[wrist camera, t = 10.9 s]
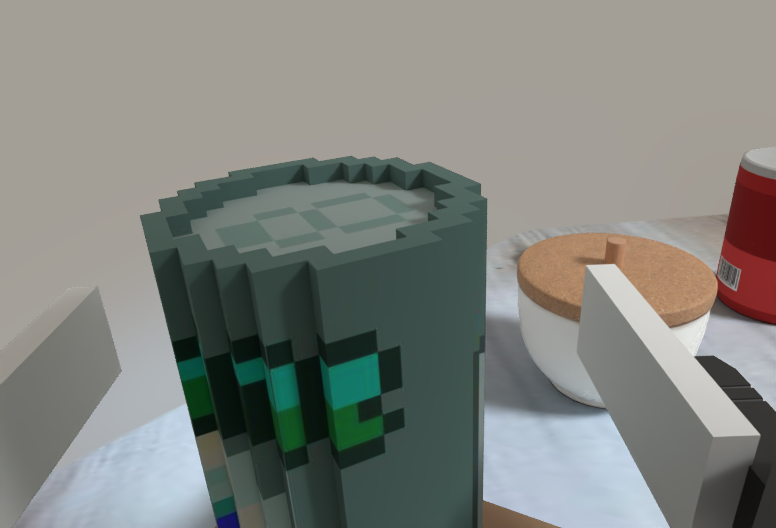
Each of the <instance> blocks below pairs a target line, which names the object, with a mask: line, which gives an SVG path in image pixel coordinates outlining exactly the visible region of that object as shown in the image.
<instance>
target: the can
mask: <svg viewBox="0 0 776 528" xmlns="http://www.w3.org/2000/svg"><path fill="white" fill-rule="evenodd" d="M228 173H229V177H225V178H219V179H214V180H207V181H202V182H195V183H194V184H195V188H191V189H185V190H179V191H177V193H178V196H176V197H171V198H165V199H159V204H160V208H161V212H156V213H151V214H145V215H140V218H141V222H142V226H143V230H144V234H145V238H146V242H147V246H148V250H149V254H150V258H151V262H152V266H153V270H154V274H155V278H156V282H157V286H158V290H159V294H160V298H161V302H162V306H163V310H164V314H165V318H166V323H167V327H168V331H169V335H170V339H171V342H172V346H173V351H174V354H175V359H176V363H177V367H178V371H179V375H180V379H181V383H182V387H183V391H184V395H185V399H186V403H187V407H188V411H189V415H190V419H191V423H192V427H193V431H194V435H195V439H196V443H197V447H198V451H199V455H200V459H201V463H202V467H203V471H204V475H205V479H206V483H207V487H208V491H209V496H210V500H211V504H212V508H213V512H214V516H215V520H216V524H217V528H482V521H483V453H484V385H485V317H486V249H487V246H486V245H487V199H486V198H484V197H482V196H481V184H480V183H478V182H475V181H473V180H471V179H468V178H466V177H463V176H461V175H459V174H457V173H454V172H452V171H450V170H447V169H445V168H443V167H440V166H438V165H436V164H433V163H431V162H427V163H421V164H416V165H413V164H411V163H408V162H406V161H404V160H402V159H400V158H398V157H396V158H391V159H386V160H380V159H378V158H376V157H369V158H363V159H357V158H355V157H353V156H348V157H342V158H336V159H330V160H324V161H318V160H316V159H315V158H309V159H303V160H297V161H291V162H285V163H279V164H274V165H268V166H262V167H256V168H250V169H244V170H238V171H232V172H228Z"/></svg>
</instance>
